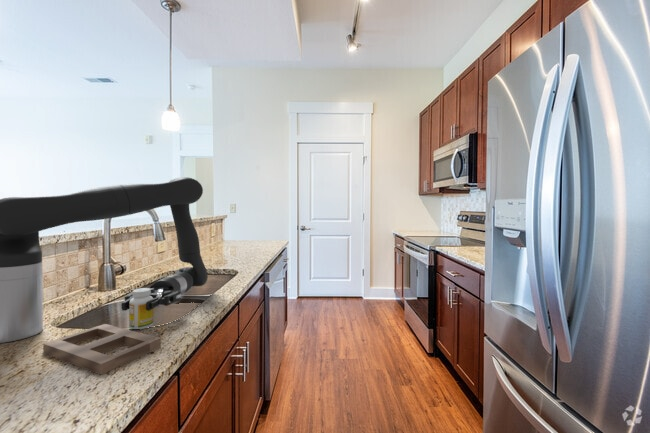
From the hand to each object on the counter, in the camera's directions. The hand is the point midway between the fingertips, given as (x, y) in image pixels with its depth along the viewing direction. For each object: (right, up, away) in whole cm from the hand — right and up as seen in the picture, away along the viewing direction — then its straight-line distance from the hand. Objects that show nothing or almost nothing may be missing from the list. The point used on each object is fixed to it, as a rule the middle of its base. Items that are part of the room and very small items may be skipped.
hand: (135, 306), depth 74 cm
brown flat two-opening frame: (0, -6, -10) cm, 12 cm away
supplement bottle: (0, -6, +3) cm, 7 cm away
